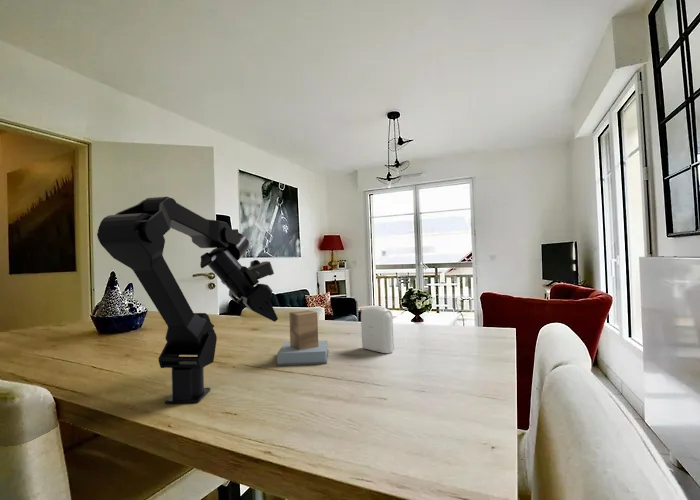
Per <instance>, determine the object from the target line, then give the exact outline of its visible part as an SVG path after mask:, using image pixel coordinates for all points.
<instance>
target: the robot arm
mask: <svg viewBox="0 0 700 500" xmlns="http://www.w3.org/2000/svg"><path fill="white" fill-rule="evenodd" d="M171 229H172V230H175V231H177V232H180V233H182V234H184V235H186V236H188V237H190V238H191V242H192V243H193V244H194V245H196V246H197V247H198V248H200V249H212V250H211V251H209V252H206V253H203V254H202V255H201V256H200V265H199V266H200V268H201V269H204V268H205V267H207V266H208V267H209V268H210V269H211V271H213V273H214V274H215V275H216V276H217V277H218V278H219V279H220V282H221V283H222V284H223V285H224V286H226V288H228V290H229V291H228V296H229V297H230V299H231V300H232V301H234V302H235V303H237V304H238V305H241V306H243V307H244V308H247V309H248V310H250V311H252V312H254V313H256V314H258V315H259V316H262V317H264V318H266V319H268V320H270V321H272V322H273V323H274V322H277V320H278V318H279V317H278V316H277V313H276V311H275V309H274V307H273V305H272V303H271V298H272V295H273V290H272V288H271V287H270V286H269V285H268V284H266V283H265V284H264V283H259V282H260V281H259V280H261V279H263V278H265V277H266V278H267V276H272V275H274V274H275V272H274V269H273V266H272V264H271V261H267V260H266V261H259V259H253V260H252V261H250V264H249V266H248V267H247V266H243V265H242V264H241V263H240V261H239V260H240V259H241V258H242V256H243V255H244V254H245V252H246V251H247V250H248V249H249V246H250V241H249V240H248V238H247V237H246V236H245V235H244V234H243V233H240V232H239V229H238V228H235V229H233V228H231V227H230V224H228V222H226V221H221V220H217V219H216V220H214V219H207V218H205V217H204V216H201V215H199V213H196V212H194V211H192V210H191V209H188V208H187V207H185V206H183V205H182V204H180V203H178V202H177V201H176V200H175V199H174V198H173V197H169V196H157V197H156V196H154V197H147V198H145V199H143V200H142V201H139V203H137V204H135V205H133V206H130V207H127V208H125V209H122V210H120V211H118V212H116V213H115V214H110V215H107V216H105V217H103V218H102V220H101V221H100V223H99V226H98V229H97V234H96V236H97V240H98V242H99V243H100V245H101V246H102V247H103V249H104V250H105V251H106V252H107V253H108V255H110V257H112V258H113V259H114V260H116V261H117V262H120V263H121V264H123V265H124V266H126V267H128V268H130V269H131V270H132V271H133V273H134V275H135V276H136V277H137V279H138V280H139V282H140V283H141V285H142V287H143V289H144V291H145V292H146V294H147V295H148V297H149V298H150V300H151V301H152V304H153V305H154V307H155V308H156V309H157V311H158V312H159V314H160V316H161V318H162V319H163V321H164V322H165V325H166V326H167V329H166V334H165V341H166V343H165V345H164V346H163V349H162V351H161V353H160V355H159V357H158V359H157V361H158V364H159V368H160V369H165V368H167V369H169V368H170V369H171V395H169V396H168V397H167V398H166V399H164V404H182V403H185V404H187V403H198V402H201V400H202V399H204V397H205V396H206V395H208V393H210V392H211V387H205V377H204V374H205V373H204V371H205V369H204V368H205V367H207V366H208V365H210V364H213V363H214V361H215V355H216V354H215V353H216V347H217V341H218V340H217V339H218V337H217V333H216V332H215V331H216V330H215V329H214V328H215V325H214V324H213V322H212V321H211V319H210V316H209V315H208V314H207V313H206V312H194V310H192V307H191V306H190V304H189V302H188V301H187V298H186V297H185V295H184V293H183V291H182V289H181V288H180V286H179V284H178V282H177V280H176V278H175V277H174V275H173V273H172V271H171V269H170V267H169V265H168V264H167V261H166V260H165V258H164V248H165V244H166V239H165V236H164V235H165V234H167V232H169V231H170V230H171Z"/></svg>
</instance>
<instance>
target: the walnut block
mask: <svg viewBox="0 0 700 500" xmlns="http://www.w3.org/2000/svg"><path fill="white" fill-rule="evenodd" d="M288 314H289V342H290V346H291V347H293V348H295V349H298V350H304V349H309V348H314V347H318V341H319V329H318V328H319V327H318V325H319V324H318V323H319V321H318V312H316V311H313V310H299V311H290V312H289V313H288Z"/></svg>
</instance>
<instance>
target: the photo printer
mask: <svg viewBox="0 0 700 500" xmlns="http://www.w3.org/2000/svg"><path fill="white" fill-rule="evenodd" d="M393 319H394V318H393V313H392V311H391V310H390V309H388V308H387V307H384V306H380V305H369V306H366V307H364V308H362V310H361V313H360V324H361V325H360V327H361V328H360V329H361V346H362V348H363V349H365V350H368V351H372V352H379V353H383V354H391V353H393V352H394V350H395V343H394V339H395V338H394V322H393Z"/></svg>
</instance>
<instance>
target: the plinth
mask: <svg viewBox="0 0 700 500" xmlns="http://www.w3.org/2000/svg"><path fill="white" fill-rule="evenodd" d="M328 345H329V343H328V340H318V347H314V348H309V349H304V350H298V349H295V348H293V347H291V346H290V341H284V342H283V344H282V346H281V347H280V349H279V350H278V351H277V353H276V356H277V359H276V360H277V363H276V366H277V367H278V366H280V367H281V366H283V367H284V366H305V365H307V366H308V365H326V364H328V358H329V348H328V347H329V346H328Z"/></svg>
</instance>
